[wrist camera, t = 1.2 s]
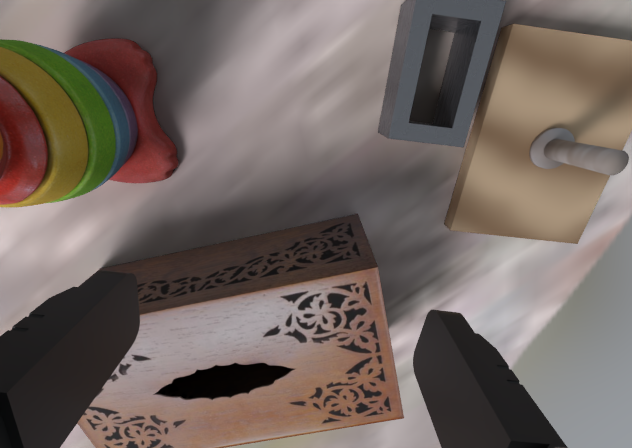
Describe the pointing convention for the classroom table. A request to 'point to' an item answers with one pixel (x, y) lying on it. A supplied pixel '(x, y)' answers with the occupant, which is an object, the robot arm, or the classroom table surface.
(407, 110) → the grey storage bin
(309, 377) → the tissue box cover
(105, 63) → the stacking bear
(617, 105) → the keeper board
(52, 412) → the robot arm
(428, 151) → the classroom table surface
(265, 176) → the classroom table surface
